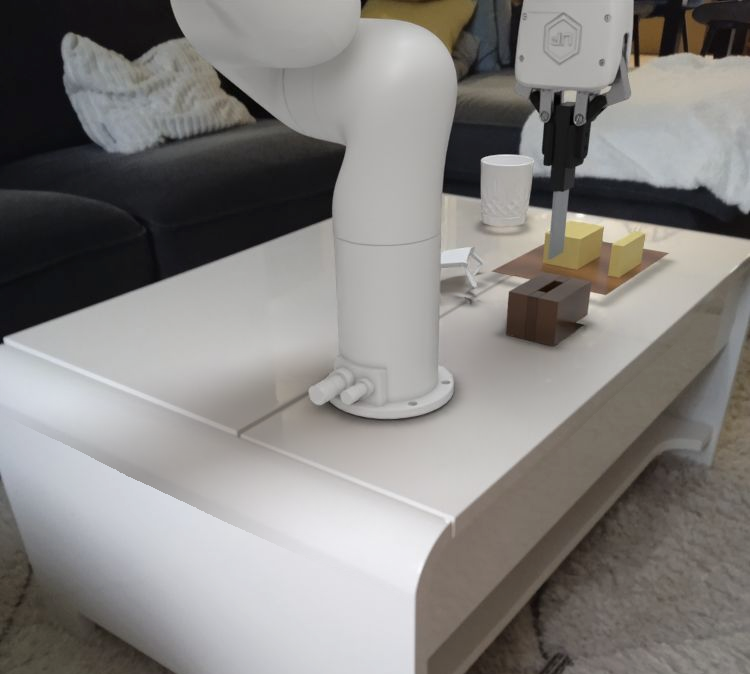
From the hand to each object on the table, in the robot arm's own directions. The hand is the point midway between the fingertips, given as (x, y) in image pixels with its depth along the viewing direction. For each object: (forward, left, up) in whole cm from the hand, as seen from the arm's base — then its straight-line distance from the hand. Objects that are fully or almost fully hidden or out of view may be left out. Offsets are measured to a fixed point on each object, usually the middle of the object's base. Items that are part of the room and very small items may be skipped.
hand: (563, 163), depth 84 cm
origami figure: (+4, +15, -18) cm, 24 cm away
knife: (0, 0, -9) cm, 9 cm away
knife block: (0, 0, -18) cm, 18 cm away
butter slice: (+21, 0, -17) cm, 27 cm away
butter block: (+21, +8, -17) cm, 28 cm away
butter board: (+21, +6, -18) cm, 28 cm away
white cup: (+33, +25, -18) cm, 45 cm away
